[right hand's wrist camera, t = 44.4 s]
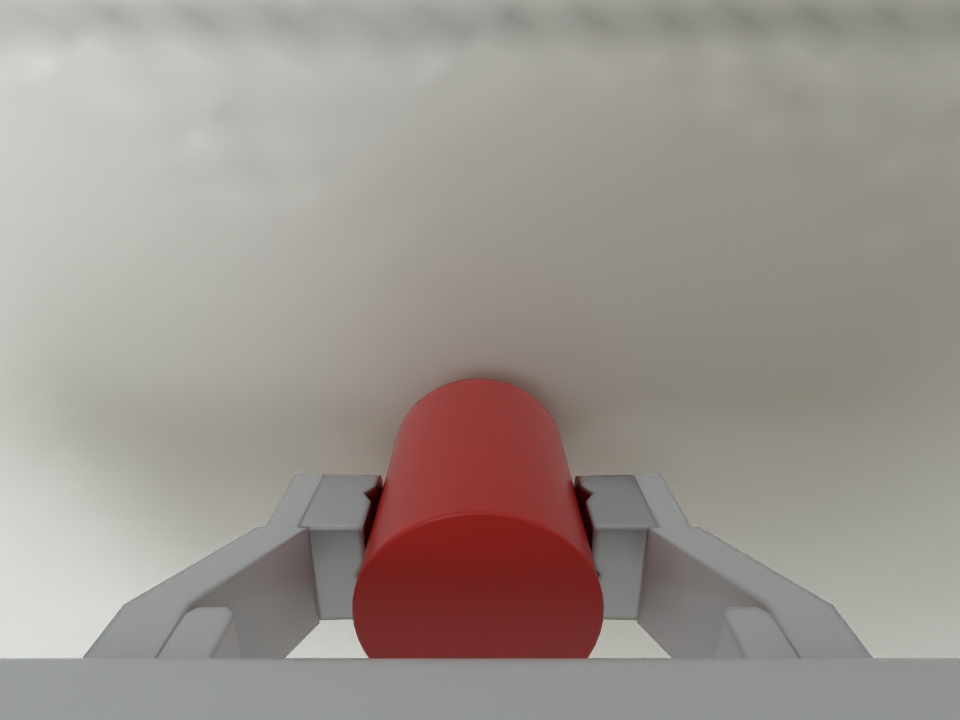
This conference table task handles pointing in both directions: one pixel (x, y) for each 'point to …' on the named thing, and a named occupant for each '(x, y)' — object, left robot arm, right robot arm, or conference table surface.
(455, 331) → the conference table surface
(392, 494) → the tin
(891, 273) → the conference table surface
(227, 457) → the conference table surface
